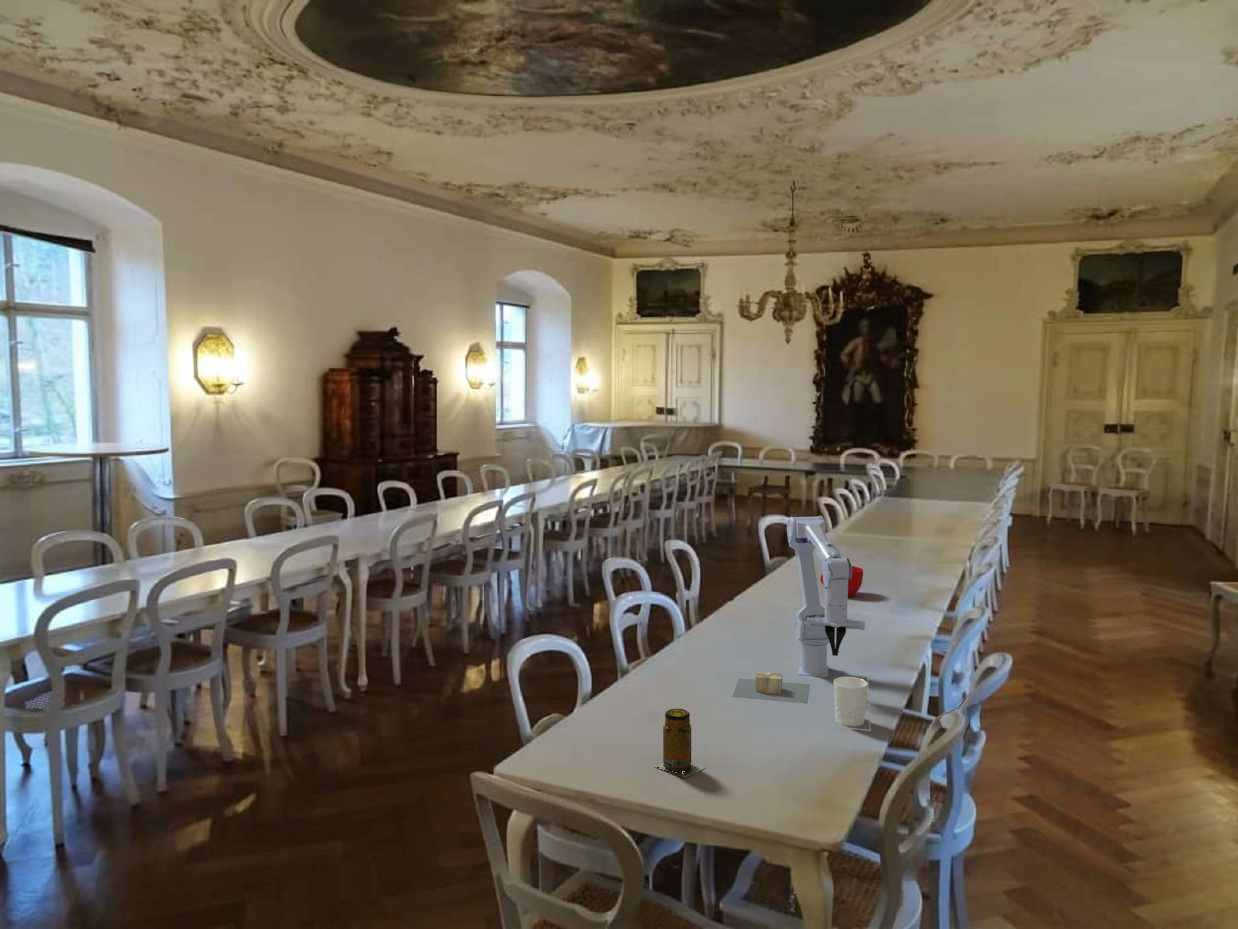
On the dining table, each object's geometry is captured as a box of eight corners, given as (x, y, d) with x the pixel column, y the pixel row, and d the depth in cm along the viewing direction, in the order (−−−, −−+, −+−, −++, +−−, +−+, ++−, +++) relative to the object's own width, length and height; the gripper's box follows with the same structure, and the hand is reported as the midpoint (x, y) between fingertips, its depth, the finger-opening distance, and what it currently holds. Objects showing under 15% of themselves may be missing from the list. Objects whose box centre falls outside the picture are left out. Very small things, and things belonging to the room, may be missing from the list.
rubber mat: (739, 679, 242) (739, 678, 242) (809, 685, 237) (809, 684, 237) (732, 698, 229) (732, 696, 229) (807, 704, 224) (807, 703, 224)
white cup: (843, 730, 208) (844, 689, 207) (826, 718, 215) (827, 678, 214) (873, 726, 210) (874, 686, 209) (855, 714, 217) (856, 675, 216)
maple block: (782, 688, 234) (757, 686, 236) (782, 673, 234) (757, 671, 235) (780, 693, 230) (755, 691, 232) (780, 679, 230) (755, 676, 232)
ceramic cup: (811, 593, 336) (812, 567, 335) (850, 589, 341) (851, 564, 340) (829, 601, 324) (829, 574, 323) (869, 597, 329) (870, 571, 328)
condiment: (675, 756, 194) (675, 704, 193) (706, 768, 189) (706, 714, 187) (653, 767, 189) (653, 713, 188) (684, 779, 183) (684, 724, 182)
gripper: (806, 605, 227) (805, 657, 229) (865, 609, 224) (864, 661, 225) (808, 599, 234) (807, 648, 236) (864, 602, 230) (863, 653, 232)
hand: (835, 654), depth 231 cm, fingers closed
